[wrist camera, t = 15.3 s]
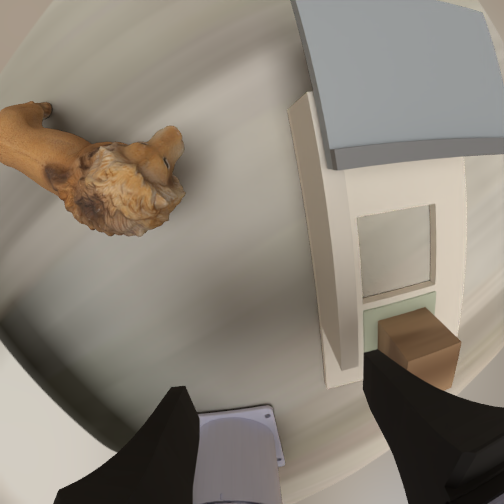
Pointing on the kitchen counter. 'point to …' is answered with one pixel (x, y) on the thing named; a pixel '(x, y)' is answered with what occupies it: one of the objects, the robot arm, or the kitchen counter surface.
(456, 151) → the cover
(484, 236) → the kitchen counter surface
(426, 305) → the puzzle board
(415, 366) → the block
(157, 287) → the kitchen counter surface
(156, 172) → the lion figurine
